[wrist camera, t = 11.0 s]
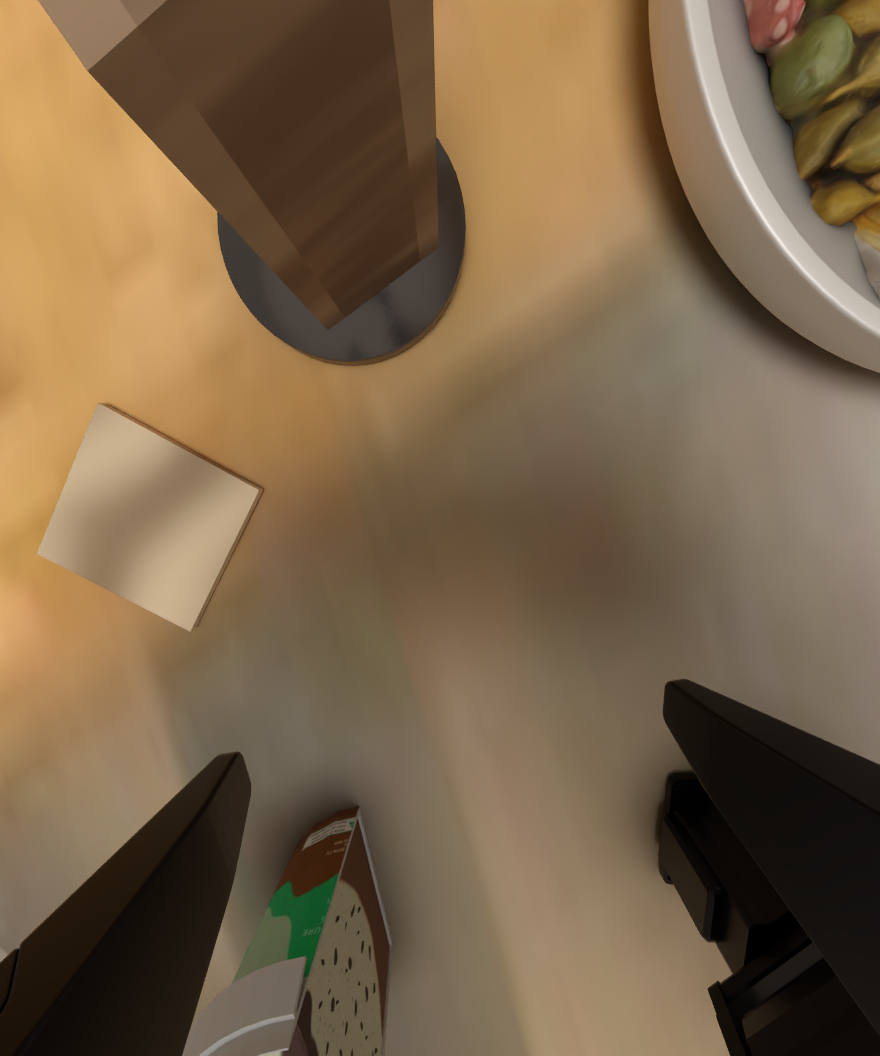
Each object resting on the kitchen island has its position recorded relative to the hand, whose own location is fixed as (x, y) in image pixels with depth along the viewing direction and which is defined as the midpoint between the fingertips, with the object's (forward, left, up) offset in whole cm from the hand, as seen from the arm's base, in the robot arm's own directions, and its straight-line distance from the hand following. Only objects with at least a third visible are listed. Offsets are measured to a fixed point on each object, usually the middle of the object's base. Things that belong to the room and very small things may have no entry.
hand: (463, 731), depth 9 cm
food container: (+7, +18, -12) cm, 23 cm away
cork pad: (+14, -3, -12) cm, 19 cm away
